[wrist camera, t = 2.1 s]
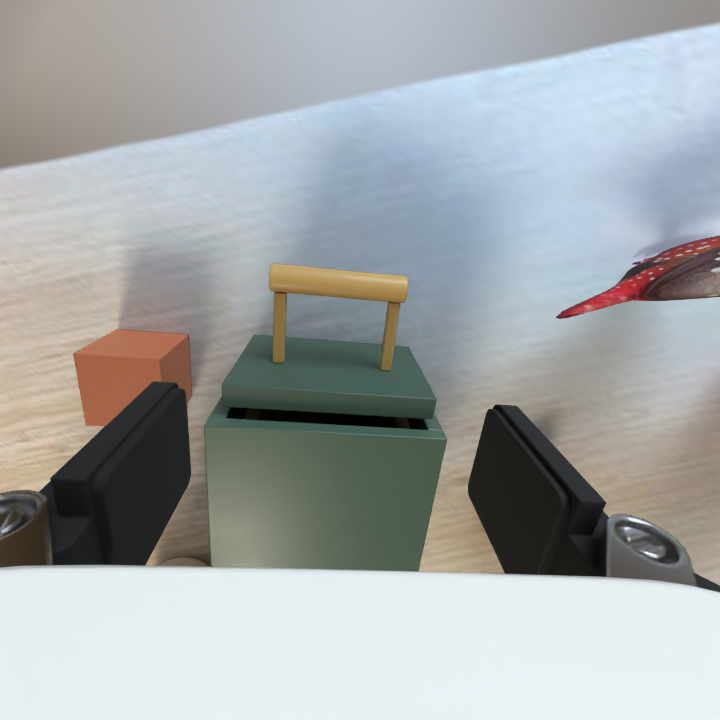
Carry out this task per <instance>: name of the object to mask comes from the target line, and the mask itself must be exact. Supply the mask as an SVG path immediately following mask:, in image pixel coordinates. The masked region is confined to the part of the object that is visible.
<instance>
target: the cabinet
mask: <svg viewBox="0 0 720 720" xmlns="http://www.w3.org/2000/svg"><path fill="white" fill-rule="evenodd" d="M247 409H248V408H235V407H223V406H222V397H221V399H220V400H219V402H218V404H217V405H216V407H215V409H214V410H213V412H212V413H211V415H210V417H209V418H208V420H207V422H206V423H205V425H204V437H205V457H206V477H207V497H208V517H209V537H210V556H211V567H246V568H295V569H339V570H381V571H418V570H419V566H420V561H421V557H422V552H423V547H424V543H425V538H426V534H427V529H428V524H429V520H430V515H431V511H432V506H433V502H434V497H435V492H436V488H437V483H438V479H439V474H440V469H441V465H442V460H443V456H444V451H445V446H446V442H447V438H446V436H445V434H444V432H443V431H442V428H441V426H440V424H439V422H438V420H437V418H436V416H435V414H434V415H433V419H417V418H407V420H408V423H409V426H410V429H401V428H384V427H366V426H349V425H332V424H315V423H297V422H280V421H263V420H245V419H243V418H244V416H245V414H246V411H247Z"/></svg>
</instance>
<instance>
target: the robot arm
mask: <svg viewBox="0 0 720 720" xmlns="http://www.w3.org/2000/svg"><path fill="white" fill-rule="evenodd" d="M190 476H191V463H190V448H189V433H188V418H187V402H186V392H185V390H184V389H181V388H179V386H178V384H177V383H171V382H156V381H154V382H152V383H151V384H150V385H149V386H148V387H147V388H145V389H144V390H143V391H142V392H141V393H140V394H139V395H138V396H137V397H136V398H135V399H134V400H133V401H132V402H131V403H130V404H129V405H127V406H126V407H125V408H124V409H123V410H122V411H121V412H120V413H119V414H118V415H117V416H116V417H115V418H114V419H113V420H112V421H111V422H109V423H108V424H107V425H106V426H105V427H104V428H103V429H102V430H101V431H100V432H99V433H98V434H97V435H96V436H95V437H94V438H93V439H91V440H90V441H89V442H88V443H87V444H86V445H85V446H84V447H83V448H82V449H81V450H80V451H79V452H78V453H77V454H76V455H75V456H74V457H72V458H71V459H70V460H69V461H68V462H67V463H66V464H65V465H64V466H63V467H62V468H61V469H60V470H59V471H58V472H57V473H56V474H54V475H53V476H52V477H51V478H50V479H51V481H50V482H49V483H48V484H47V485H46V486H45V487H44V488H43V489H42V490H41V491H40V492H36V491H30V490H16V491H9V492H4V493H0V720H720V586H719V585H717V584H715V583H713V582H711V581H709V580H707V579H705V578H703V577H701V576H699V575H697V574H695V573H694V571H693V568H692V564H691V561H690V557H689V555H688V553H687V551H686V549H685V548H684V547H683V546H682V545H681V544H680V543H679V542H678V540H676V539H675V538H674V537H673V536H671V535H670V534H669V533H668V532H666V531H665V530H663V529H661V528H660V527H658V526H657V525H655V524H653V523H651V522H648V521H646V520H644V519H641V518H638V517H635V516H632V515H625V514H617V515H612V516H611V517H608V516H607V515H606V514H605V513H604V512H603V509H604V507H605V504H606V502H605V501H604V499H603V498H602V497H601V496H600V495H599V494H598V493H597V492H596V491H595V490H594V489H593V488H592V487H591V485H590V484H589V483H588V482H587V481H586V480H585V479H584V478H583V477H582V476H581V475H580V474H579V472H578V471H577V470H576V469H575V468H574V467H573V466H572V465H571V464H570V463H569V462H568V461H567V460H566V458H565V457H564V456H563V455H562V454H561V453H560V452H559V451H558V450H557V449H556V448H555V447H554V445H553V444H552V443H551V442H550V441H549V440H548V439H547V438H546V437H545V436H544V435H543V434H542V433H541V431H540V430H539V429H538V428H537V427H536V426H535V425H534V424H533V423H532V422H531V421H530V420H529V418H528V417H527V416H526V415H525V414H524V413H523V412H522V411H521V410H520V409H519V408H518V407H517V406H511V405H495V406H494V407H493V409H489V410H488V411H487V413H486V417H485V421H484V425H483V429H482V432H481V436H480V440H479V444H478V448H477V452H476V456H475V460H474V464H473V468H472V472H471V475H470V479H469V483H468V493H469V497H470V499H471V501H472V503H473V506H474V508H475V510H476V512H477V514H478V516H479V518H480V521H481V523H482V525H483V527H484V529H485V531H486V533H487V536H488V538H489V540H490V542H491V544H492V546H493V548H494V551H495V553H496V555H497V557H498V559H499V561H500V563H501V566H502V568H503V570H504V572H505V574H495V573H459V572H421V571H381V570H339V569H295V568H246V567H192V566H145V565H146V563H147V561H148V559H149V557H150V555H151V553H152V552H153V550H154V548H155V546H156V544H157V542H158V540H159V538H160V537H161V535H162V533H163V531H164V529H165V527H166V525H167V523H168V522H169V520H170V518H171V516H172V514H173V512H174V510H175V508H176V507H177V505H178V503H179V501H180V499H181V497H182V495H183V493H184V492H185V490H186V488H187V486H188V484H189V481H190Z"/></svg>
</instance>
